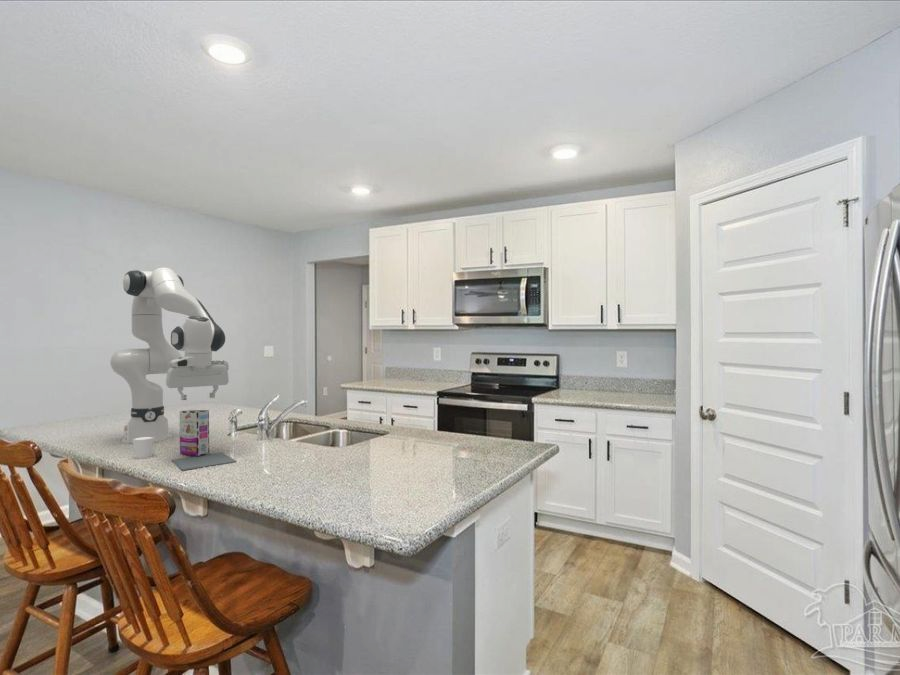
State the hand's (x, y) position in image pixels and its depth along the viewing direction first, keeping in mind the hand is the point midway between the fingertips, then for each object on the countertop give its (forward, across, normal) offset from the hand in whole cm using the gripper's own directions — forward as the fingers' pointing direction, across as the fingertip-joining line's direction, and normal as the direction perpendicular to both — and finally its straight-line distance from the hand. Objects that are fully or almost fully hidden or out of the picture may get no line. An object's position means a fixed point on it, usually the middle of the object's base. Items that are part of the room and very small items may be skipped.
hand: (198, 398), depth 178 cm
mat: (+21, 0, +8) cm, 23 cm away
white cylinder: (+22, +15, -14) cm, 30 cm away
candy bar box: (+22, 0, -5) cm, 22 cm away
